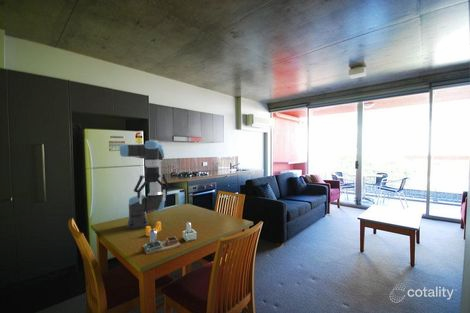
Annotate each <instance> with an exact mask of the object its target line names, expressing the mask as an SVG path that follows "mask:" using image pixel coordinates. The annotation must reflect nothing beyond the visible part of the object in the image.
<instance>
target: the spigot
mask: <svg viewBox="0 0 470 313" xmlns="http://www.w3.org/2000/svg"><path fill="white" fill-rule="evenodd" d="M151 229H152V230H150V236H149V243H150V248H153V247H157V241H158V232H157V230H155V229H154V228H151Z"/></svg>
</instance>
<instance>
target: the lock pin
mask: <svg viewBox="0 0 470 313" xmlns="http://www.w3.org/2000/svg"><path fill="white" fill-rule="evenodd" d="M185 226H186V227H185V231H186V230H187V234H190V233H192V232H191V229H192V222H190V221H187V222H186V223H185Z"/></svg>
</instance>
